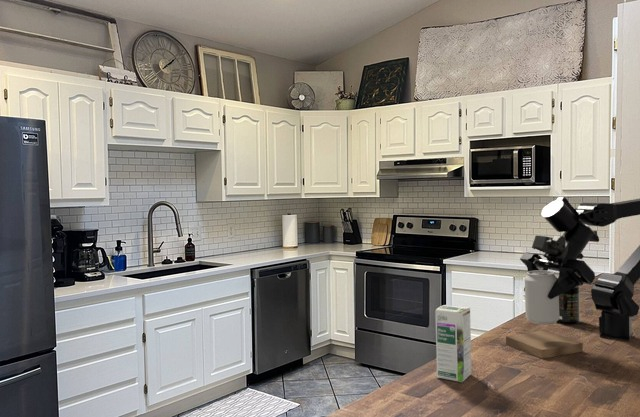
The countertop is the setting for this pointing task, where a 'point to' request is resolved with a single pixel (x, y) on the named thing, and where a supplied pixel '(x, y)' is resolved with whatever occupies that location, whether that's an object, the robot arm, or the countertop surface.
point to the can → (540, 297)
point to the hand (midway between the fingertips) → (536, 294)
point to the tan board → (544, 344)
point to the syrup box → (453, 342)
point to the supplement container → (569, 307)
